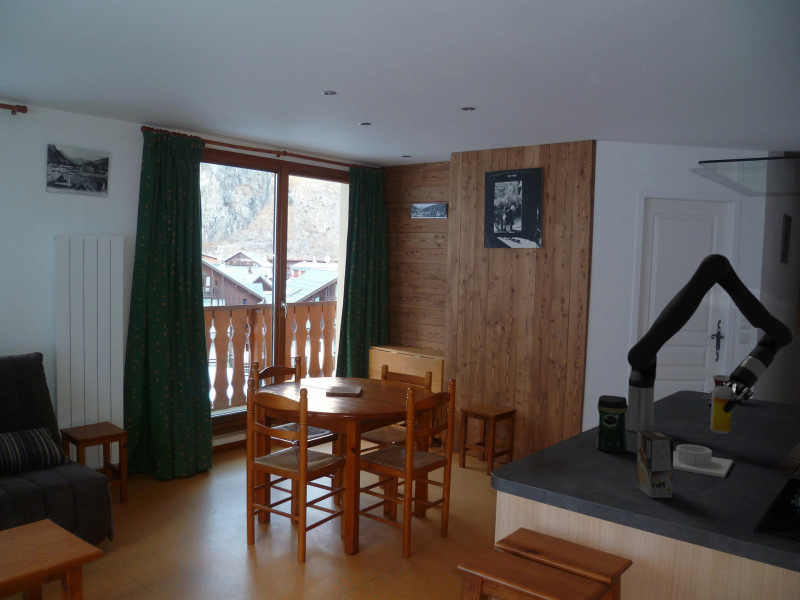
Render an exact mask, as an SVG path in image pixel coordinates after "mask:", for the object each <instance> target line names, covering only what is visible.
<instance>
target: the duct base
mask: <svg viewBox="0 0 800 600" xmlns="http://www.w3.org/2000/svg"><path fill="white" fill-rule="evenodd" d="M675 447H676V449H675V450H674V452H673V470H678V471H682V472H689V473H695V474H700V475H707V476H712V477H717V478H723V479H724V478H725V477H726V475H727V474H728V472H729V471H730V468H732V465H733V464H732V463H733V459H726V458H720V457H716V456H715V457H714V456H713V451H712V449H710V448H709V447H705V446H702V445H698V444H697V445H696V444H677V446H675Z"/></svg>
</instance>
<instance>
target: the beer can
mask: <svg viewBox="0 0 800 600" xmlns="http://www.w3.org/2000/svg"><path fill="white" fill-rule="evenodd" d="M711 391H712V394H711V399H712V405H711V408H710V429H711V431H712V432H713V433H717V434H729V432H731V429H732V427H731V425H732V409H733V408H732V409H731V411H729V412H728V413H725V412H724V410H723V407H724V406H725V405H726V403H727V402H728V401H731V400H730V399H731V396H732V390H731V388H730V387H725V386H715V385H714V386H713V388H712V390H711Z"/></svg>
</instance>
